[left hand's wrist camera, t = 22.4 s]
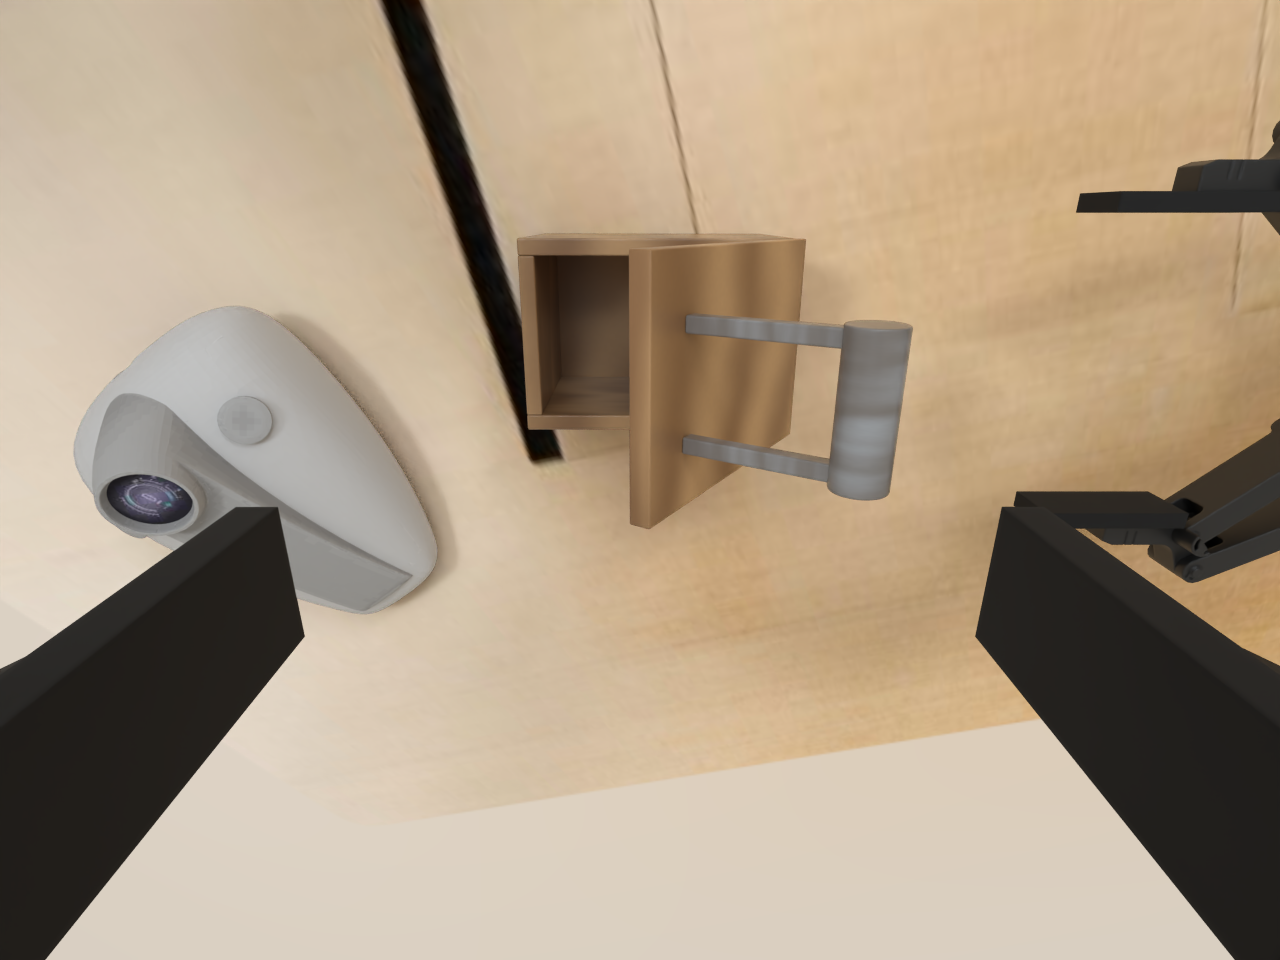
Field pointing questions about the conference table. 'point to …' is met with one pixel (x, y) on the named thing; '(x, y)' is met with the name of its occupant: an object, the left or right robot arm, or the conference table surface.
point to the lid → (746, 376)
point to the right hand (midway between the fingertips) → (1059, 368)
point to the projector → (256, 458)
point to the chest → (583, 324)
